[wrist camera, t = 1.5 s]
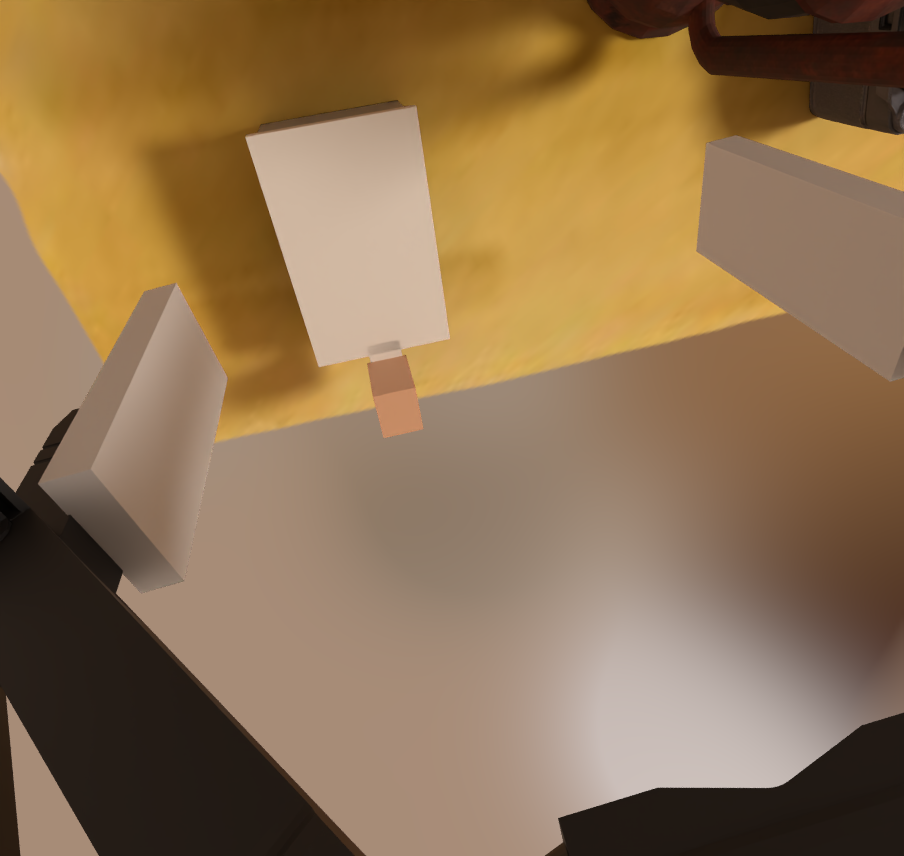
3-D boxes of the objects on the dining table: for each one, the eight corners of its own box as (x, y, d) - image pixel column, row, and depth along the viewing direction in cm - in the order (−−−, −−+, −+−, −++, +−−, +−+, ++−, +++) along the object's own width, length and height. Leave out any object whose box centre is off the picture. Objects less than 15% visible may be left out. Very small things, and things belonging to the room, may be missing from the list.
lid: (247, 131, 36) (237, 153, 31) (411, 102, 37) (430, 119, 32) (332, 399, 49) (336, 448, 44) (451, 373, 50) (469, 418, 45)
